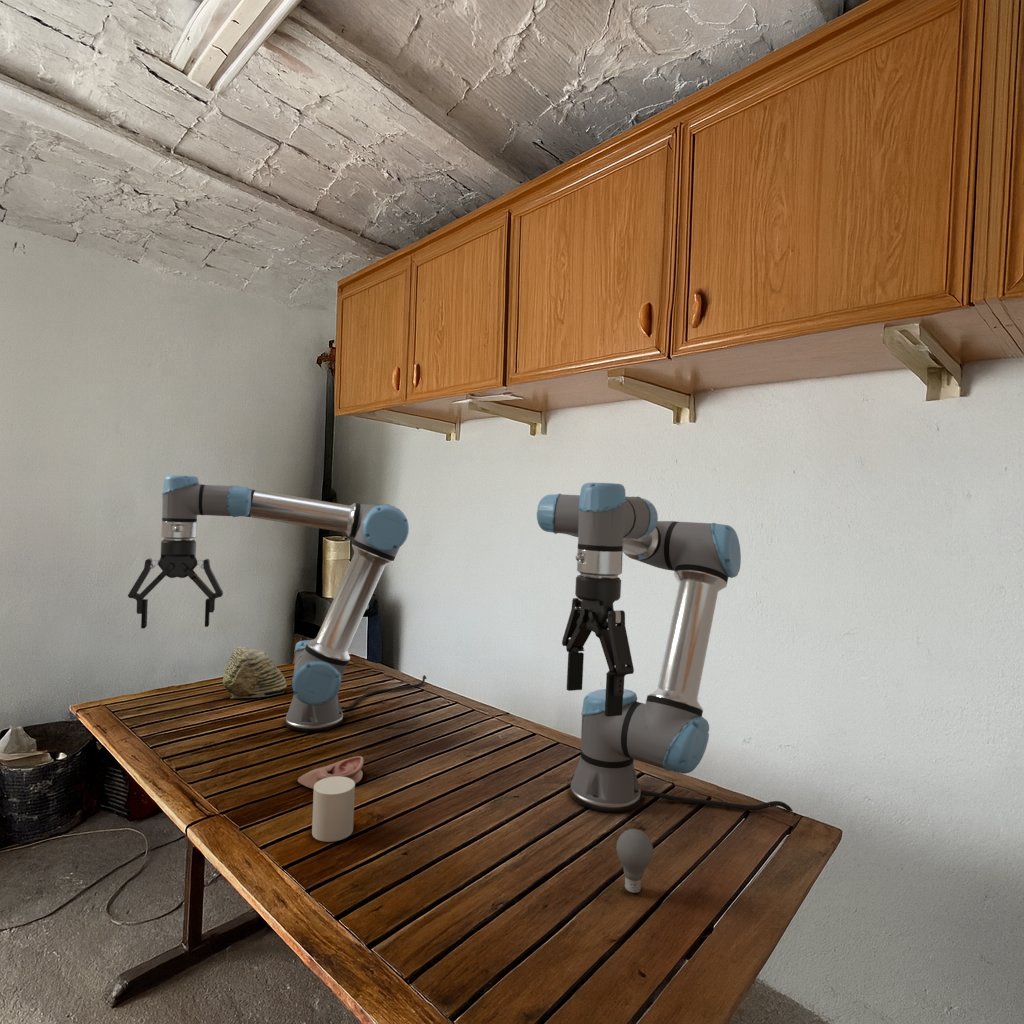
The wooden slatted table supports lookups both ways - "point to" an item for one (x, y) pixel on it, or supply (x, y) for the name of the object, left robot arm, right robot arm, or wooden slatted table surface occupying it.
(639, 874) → the light bulb
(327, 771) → the anatomical model
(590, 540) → the right robot arm
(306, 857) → the wooden slatted table surface
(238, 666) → the fossil
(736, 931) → the wooden slatted table surface
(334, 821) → the can
